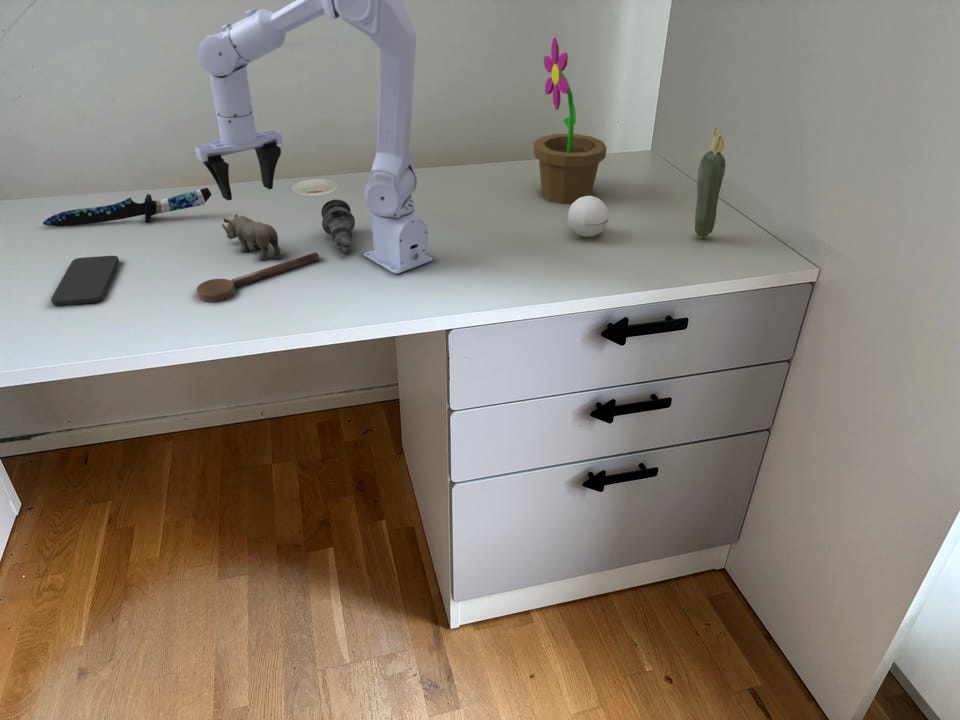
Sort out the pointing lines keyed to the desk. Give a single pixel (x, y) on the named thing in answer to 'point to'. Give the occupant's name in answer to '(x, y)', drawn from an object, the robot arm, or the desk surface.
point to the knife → (129, 209)
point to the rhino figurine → (253, 235)
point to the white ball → (588, 216)
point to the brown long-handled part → (246, 279)
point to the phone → (85, 280)
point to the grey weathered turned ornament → (338, 223)
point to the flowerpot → (566, 144)
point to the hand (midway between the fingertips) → (248, 193)
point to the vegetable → (709, 186)
